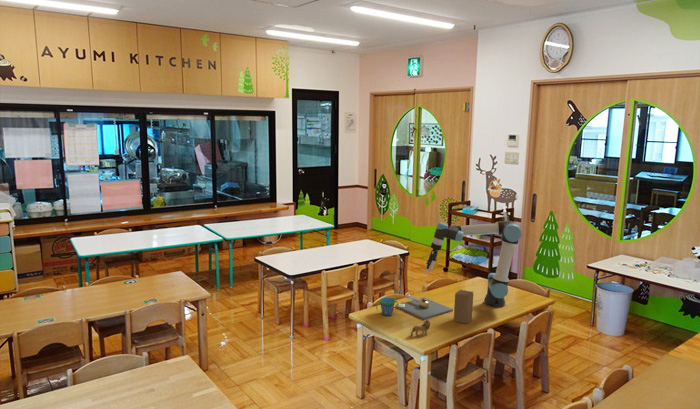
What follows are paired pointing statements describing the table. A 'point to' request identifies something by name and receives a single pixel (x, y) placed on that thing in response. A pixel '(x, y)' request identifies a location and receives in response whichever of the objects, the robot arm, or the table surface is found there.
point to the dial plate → (424, 309)
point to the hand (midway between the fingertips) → (428, 270)
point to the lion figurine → (421, 328)
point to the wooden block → (463, 306)
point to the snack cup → (387, 305)
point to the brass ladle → (419, 301)
